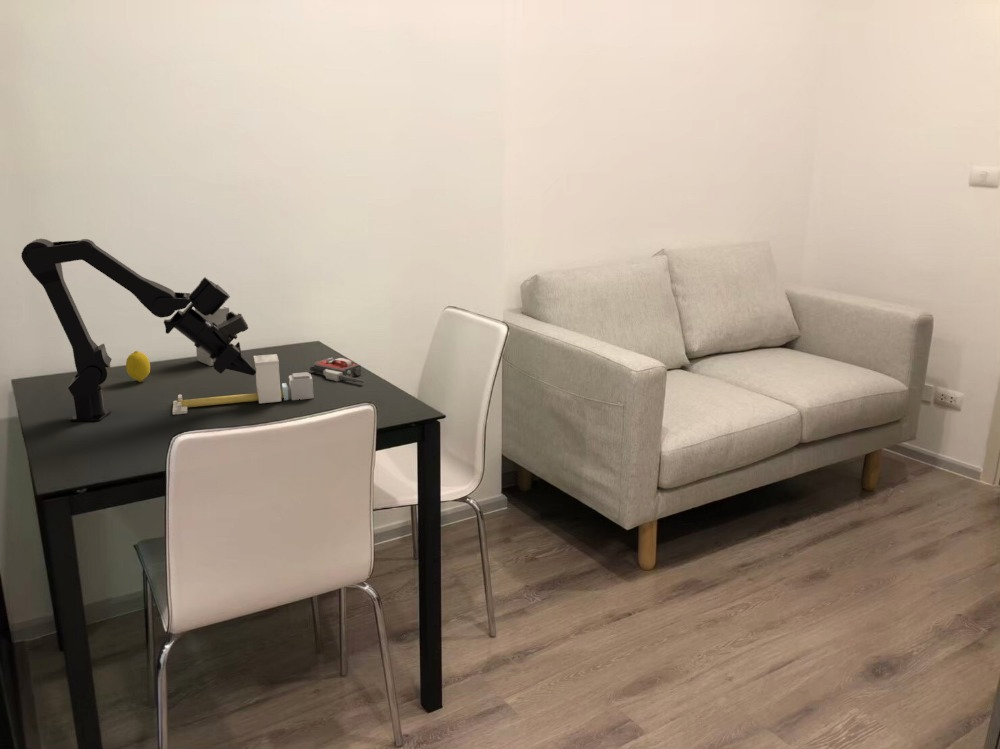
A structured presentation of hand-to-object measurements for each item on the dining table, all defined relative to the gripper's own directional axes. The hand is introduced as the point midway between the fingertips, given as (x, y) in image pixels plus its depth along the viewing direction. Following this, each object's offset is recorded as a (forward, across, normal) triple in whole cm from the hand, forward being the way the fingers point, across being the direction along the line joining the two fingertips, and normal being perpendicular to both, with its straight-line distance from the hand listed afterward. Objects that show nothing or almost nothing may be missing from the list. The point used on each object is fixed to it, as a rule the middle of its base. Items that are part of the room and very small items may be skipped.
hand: (254, 373), depth 193 cm
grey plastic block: (+11, 0, -2) cm, 11 cm away
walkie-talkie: (+21, +14, -11) cm, 27 cm away
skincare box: (-1, +40, +11) cm, 41 cm away
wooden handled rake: (+1, 0, +8) cm, 8 cm away
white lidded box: (+7, 0, +3) cm, 7 cm away
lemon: (-14, +26, +24) cm, 38 cm away
